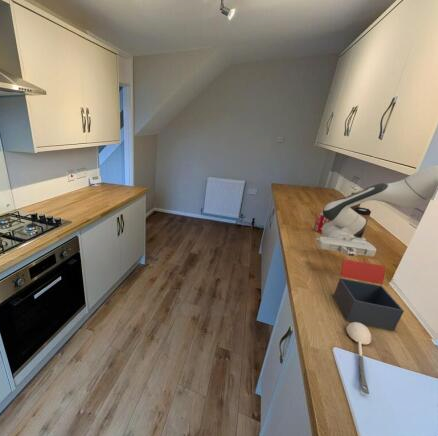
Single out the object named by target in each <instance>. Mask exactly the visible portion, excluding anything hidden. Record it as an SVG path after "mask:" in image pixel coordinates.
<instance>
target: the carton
mask: <svg viewBox="0 0 438 436" xmlns="http://www.w3.org/2000/svg"><path fill="white" fill-rule="evenodd" d="M335 287H336V288H335V290H334V294H333V298H334V300H335V301H336V303H337V305H338V307H339V309H340V311H341V313H342V315H343V316H344V318H345V320H346V321H349V322H351V323H352V322H359V323H361V324H363V325H365V326H370V327H374V328H378V329H382V330H386V331H392V332H394V331H395V330H396V328H397V327H398V324H399V322H400V320H401V317H402V316H403V314H404V313H405V310H404V309H403V308H402V306H401V305H400V304H399V303H398V302H397V301H396V300H395V299H394V298H393V296H392V295H391V294H390V293H389V292H388V291H387V290H386V289H385V288H384V287H383V285H381V284H375V283H370V282H365V281H359V280H354V279H348V278H343V277H339V279H338V282H337V285H336V286H335Z"/></svg>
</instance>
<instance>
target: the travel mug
mask: <svg viewBox="0 0 438 436" xmlns="http://www.w3.org/2000/svg"><path fill="white" fill-rule="evenodd" d="M354 211H355V212H356V213H358V214H360V215H361V216H362V217H363V218H365V219H366V221H367V224H366V227H365V229H364V231H363V232H361V233H360V234H359V235H357V236H359V237H363V235H364V232H365V230H366V228H367V225H368V221H369V219H370V216H371V213H372V210H370V209H369V208H367V207H361V206H360V207H355V209H354Z"/></svg>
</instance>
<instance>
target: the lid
mask: <svg viewBox="0 0 438 436" xmlns="http://www.w3.org/2000/svg"><path fill="white" fill-rule="evenodd" d="M385 272H386V265H382V264H376V263H369V262H363V261H357V260H351V259H346V258H343V259H342V263H341V268H340V275H339V276H340V277H339V278H344V279H350V280H355V281H361V282H366V283H371V284H377V285H383V283H384V277H385Z"/></svg>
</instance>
